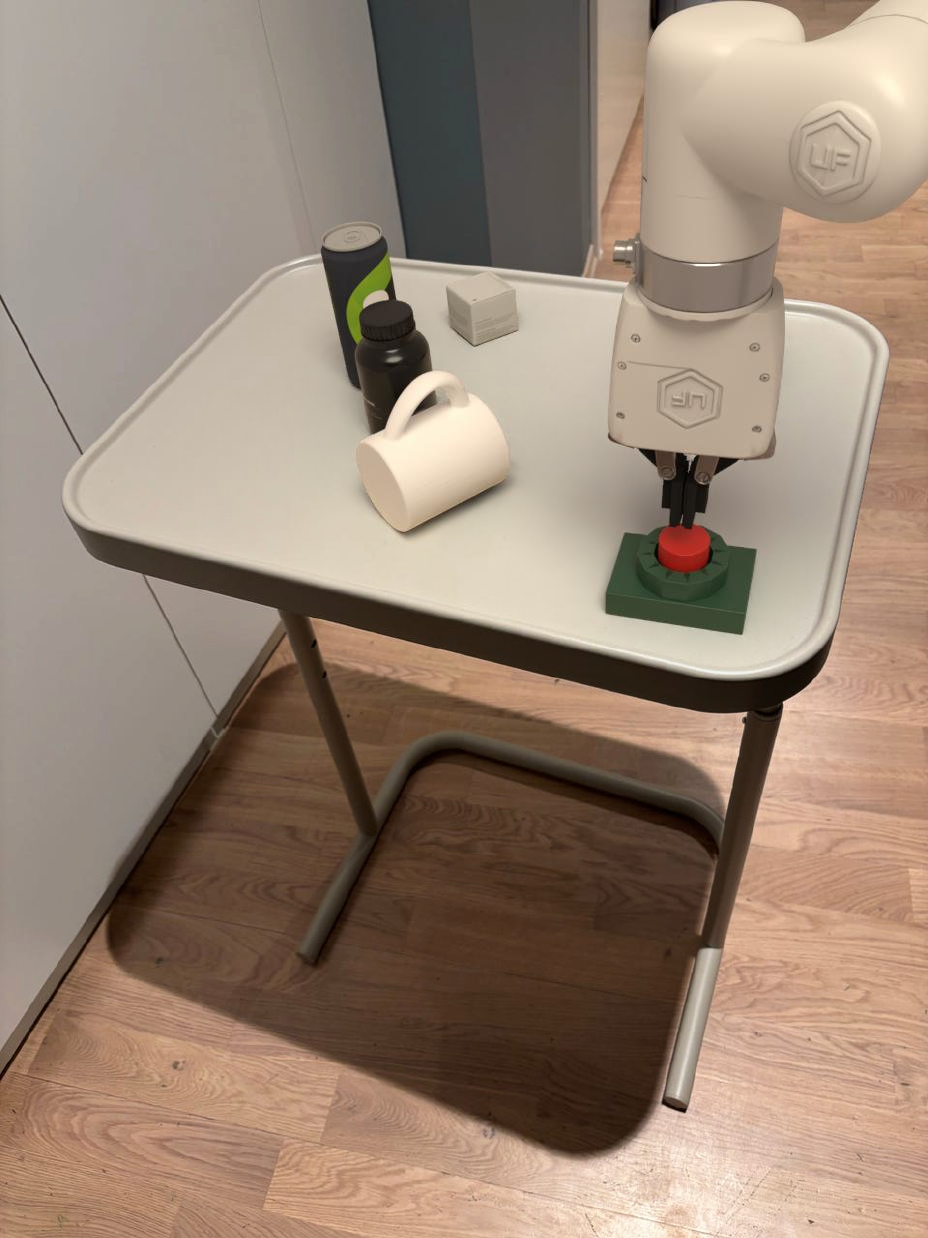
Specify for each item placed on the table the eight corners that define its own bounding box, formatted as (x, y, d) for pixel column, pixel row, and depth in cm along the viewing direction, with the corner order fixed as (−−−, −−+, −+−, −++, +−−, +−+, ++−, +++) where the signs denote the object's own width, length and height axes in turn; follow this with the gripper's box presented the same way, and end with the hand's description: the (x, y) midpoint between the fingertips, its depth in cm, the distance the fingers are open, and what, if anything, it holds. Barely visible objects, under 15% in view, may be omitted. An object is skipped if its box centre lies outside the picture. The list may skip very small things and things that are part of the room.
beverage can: (350, 365, 100) (319, 224, 89) (408, 357, 99) (384, 216, 89) (348, 397, 95) (316, 253, 85) (409, 389, 95) (384, 244, 84)
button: (711, 543, 69) (713, 525, 68) (704, 576, 67) (706, 558, 66) (662, 537, 70) (663, 519, 69) (653, 569, 68) (654, 551, 67)
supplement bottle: (356, 439, 90) (330, 325, 81) (393, 401, 94) (371, 288, 85) (418, 454, 87) (398, 336, 79) (453, 414, 91) (437, 298, 83)
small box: (520, 330, 101) (517, 287, 97) (473, 347, 99) (468, 304, 96) (493, 310, 105) (490, 267, 101) (448, 326, 103) (443, 284, 100)
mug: (365, 503, 83) (337, 384, 74) (460, 455, 86) (445, 336, 78) (415, 549, 78) (391, 428, 69) (514, 496, 81) (504, 375, 73)
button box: (753, 569, 72) (759, 530, 69) (742, 635, 68) (748, 595, 65) (624, 552, 75) (624, 513, 72) (605, 613, 70) (605, 575, 68)
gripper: (560, 289, 53) (567, 536, 66) (842, 306, 48) (789, 566, 62) (590, 230, 57) (591, 471, 71) (849, 241, 53) (799, 495, 66)
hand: (683, 515), depth 66 cm, fingers closed
